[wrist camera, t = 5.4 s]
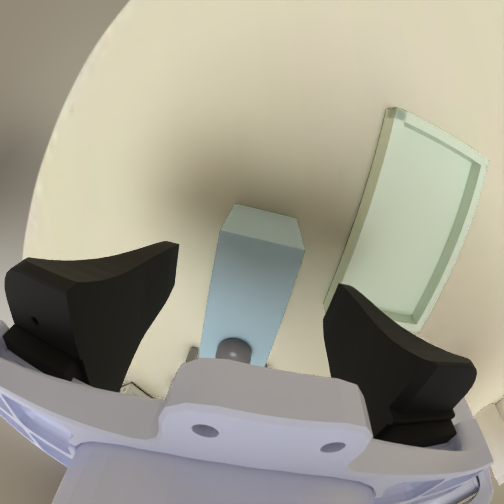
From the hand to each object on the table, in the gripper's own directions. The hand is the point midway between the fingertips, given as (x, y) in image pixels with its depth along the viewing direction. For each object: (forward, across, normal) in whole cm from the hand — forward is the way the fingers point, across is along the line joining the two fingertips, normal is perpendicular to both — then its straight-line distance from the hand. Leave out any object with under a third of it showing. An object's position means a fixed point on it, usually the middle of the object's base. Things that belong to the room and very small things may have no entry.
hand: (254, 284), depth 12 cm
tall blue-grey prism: (+7, 0, +3) cm, 8 cm away
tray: (+7, -10, -3) cm, 12 cm away
